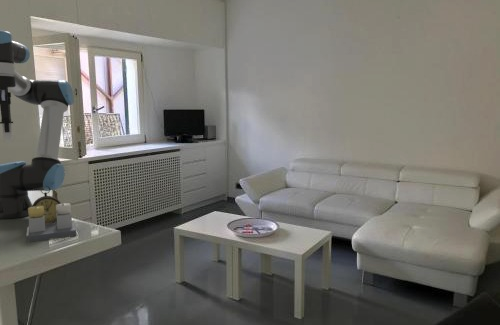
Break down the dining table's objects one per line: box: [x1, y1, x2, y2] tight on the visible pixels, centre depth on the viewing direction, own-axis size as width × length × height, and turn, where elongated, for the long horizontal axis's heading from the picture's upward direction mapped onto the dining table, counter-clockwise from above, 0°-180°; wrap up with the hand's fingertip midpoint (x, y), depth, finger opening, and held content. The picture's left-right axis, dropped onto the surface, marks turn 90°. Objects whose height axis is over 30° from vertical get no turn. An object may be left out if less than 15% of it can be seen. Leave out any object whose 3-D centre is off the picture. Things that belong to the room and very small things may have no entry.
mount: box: [25, 211, 77, 243], centre depth 147 cm, size 14×16×7 cm
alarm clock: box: [32, 186, 62, 224], centre depth 157 cm, size 11×5×16 cm, turn 119°
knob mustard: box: [28, 206, 44, 218], centre depth 145 cm, size 5×5×8 cm
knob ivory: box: [56, 202, 72, 215], centre depth 149 cm, size 5×5×8 cm
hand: (8, 141), depth 145 cm, fingers closed
